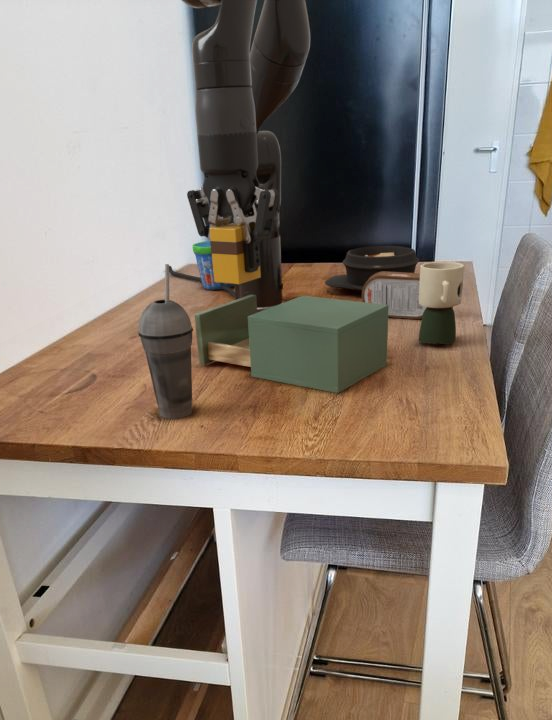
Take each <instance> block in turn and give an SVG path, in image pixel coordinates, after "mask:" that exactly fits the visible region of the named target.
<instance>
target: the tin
mask: <svg viewBox="0 0 552 720" xmlns="http://www.w3.org/2000/svg"><path fill="white" fill-rule="evenodd" d="M419 283H420V272H414V273H403V272H385V271H383V272H378V273H375V274H374V275H372V276H371V277H370V278H369V279H368V281H367V282H366V283H365V285H364V287H363V289H362V293H361V302H365V303H374V304H383V305H389V309H388V318H392V319H393V318H394V319H404V320H405V319H406V320H422V316H423V312H424V310H425V309H426V308H427V307H424V306H422V305H420V304H419Z"/></svg>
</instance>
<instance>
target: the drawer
mask: <svg viewBox="0 0 552 720" xmlns="http://www.w3.org/2000/svg"><path fill="white" fill-rule="evenodd" d="M255 313H258V312H257V301H256V295H248V296H246V297H243V298H240V299H237V300H236V299H234V300H232V301H228V302H226V303H223V304H220V305H217V306H214V307H211V308H208V309H205V310H202V311H199V312H197V313H194V325H195V334H196V345H197V354H198V363H199V365H202V366H206V365H208V364H210V363H213V362H222V363H226V364H232V365H237V366H243V367H249V368H251V361H250V346H249V330H248V316H250V315H253V314H255Z"/></svg>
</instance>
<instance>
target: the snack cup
mask: <svg viewBox="0 0 552 720" xmlns="http://www.w3.org/2000/svg"><path fill="white" fill-rule="evenodd" d="M192 252H193V254H194V256H195V260H196V264H197V269H198V272H199V276H200V278H201V281H202V282H201V284H202V287H203V288H204V289H207V290H208V291H209V290H210V291H212V290H214V291H215V290H216V291H218V290H223V289H222V286H223V285H225V286H227V287H229V288H233V287H234V286H235V284H230V283H219V282H214V271H213V260H212V253H211V245H210V240H206V241H200V242H196V243H193V245H192Z"/></svg>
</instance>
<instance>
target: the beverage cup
mask: <svg viewBox="0 0 552 720" xmlns="http://www.w3.org/2000/svg"><path fill="white" fill-rule="evenodd" d="M169 266H170V264H169V263H165V264H164V298H163V299H156V300H154V301H152V302H150V303H149V304H148V305H147V306H146V307H145V308H144V309H143V310H142V313H141V314H140V317H139V321H138V332H137V333H138V337H140V342H141V345H142V347H143V350H144V351H145V352H144V353H145V357H146V361H147V365H148V370H149V375H150V378H151V381H152V382H151V384H152V388H153V391H154V396H155V400H156V404H157V407H158V411H159V415H160V417H161V418H163V419H164V418H165V419H170V420H175V419H181V418H185V417H187V416H190V415H191V414H192V413H193V409H192V407H193V378H192V377H193V375H192V374H193V373H192V369H193V368H192V345H193V332H194V327H193V326H192V321H191V319H190V318H191V317H190V316H189V315H188V312H187V311H186V309H185V308H184V307H183V306H182V305H180V304H179V303H178V302H176V301H174V300H171V299H170V272H169Z"/></svg>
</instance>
